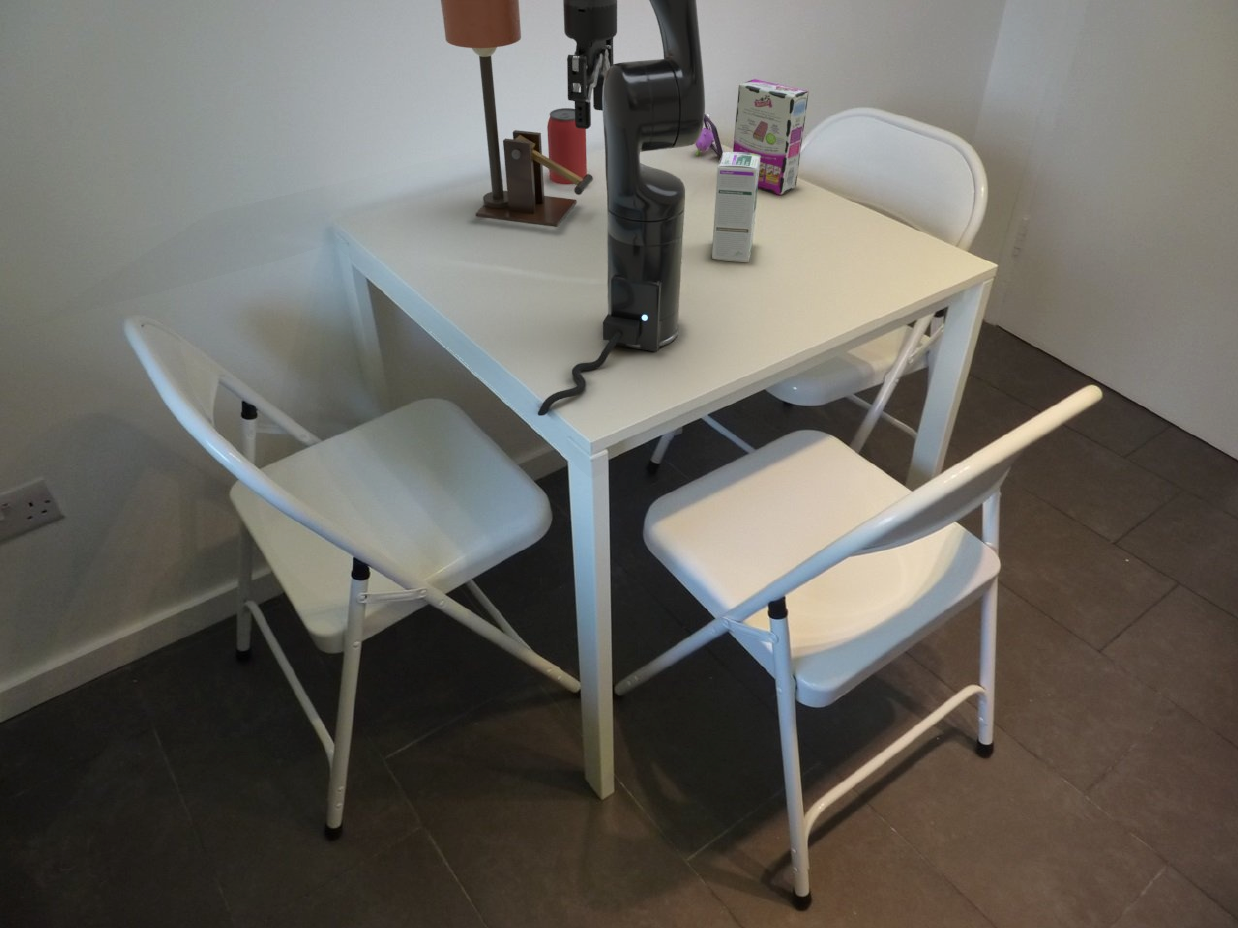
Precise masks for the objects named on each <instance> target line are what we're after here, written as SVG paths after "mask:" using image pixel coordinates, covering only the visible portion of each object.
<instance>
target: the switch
mask: <svg viewBox="0 0 1238 928" xmlns="http://www.w3.org/2000/svg"><path fill="white" fill-rule="evenodd" d="M515 140H523V141H530V140H528V139H526V138H525V137H523V136H521V135H519V136H518V137H517V138H516V139H515ZM534 147H535V143H533V142H532V156H533V160H535V161H537V162H538V163H540V164H542V165H543V167H545V168H547V169H548V170H549V169H550V170H552V171H553V172H555V173H557V174H558V175H560V176H562V177H564V178H565V179H567V180H569V181H570V182H572V183H574V184H573V185H575V187H574V190H573V191H574V194H576V195H578V196H581V195H582V194H583V193H584V191H585V190H586V189H587V188H588V187H589V186H590V184H591V183H592V182H593V179H594V177H593V175H592V174H590V173H587V175H586V176H585V177H584V178H583V179H582V178H581V177H579V176H577V175H576V174H574V173H572V172H571V171H569V170H567V169H566V168H564V167H562V166H560V165H559V164H557V163H555V162H554V161H552V160H550V159H549V157H547V156H545V155H544V154H543V153H542V154H540V153H539V152H537V151H535V150H534Z"/></svg>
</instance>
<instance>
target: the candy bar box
mask: <svg viewBox="0 0 1238 928" xmlns="http://www.w3.org/2000/svg"><path fill="white" fill-rule="evenodd" d="M809 93H810V92H809V91H808V90H804V89H800V88H796V87H793V86H792V87H791V86H787V85H783V84H779V83H775V82H770V81H766V80H762V79H757V78H754V79H750V80H747V81H745V82H742V83H740V84H738V90H737V102H736V113H735V114H736V115H735V125H734V137H733V147H732V148H733V150H732V152H745V153H753V154H759V155H760V167H759V178H758V189H759V190H762V191H766V192H769V193H772V194H776V195H779V196H782V195H784V194H786V193H789V192H790V191H793V190H794V189H796V187H797V180H798V173H799V165H800V159H801V158H800V157H801V151H802V144H803V143H802V142H803V136H804V130H805V129H804V128H805V123H806V122H805V121H806V114H807V107H808V101H809V100H808V99H809Z"/></svg>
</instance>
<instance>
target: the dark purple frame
mask: <svg viewBox="0 0 1238 928" xmlns="http://www.w3.org/2000/svg"><path fill="white" fill-rule="evenodd" d="M694 145H695V147H696V149H697V151H696V152H695V153H696V154H695V157H698V156H699V155H700V153H701V152H706V151H707V150H709V148H710V147H711V148H712V149H713V151H714V152H715V154H717V156H718V158H720V159H721V156H722V154H723V152H724V150H723V147H722V144H721V140H720V137H719V132H718V128H717V126H716V125H715V124H714V123H713V121H712V120H711V117H710V115H709V114H708V113H705V117H704V127H703V129H702V133H701V136H700V138H699V139H698V141H697V142H696V143H695V144H694Z"/></svg>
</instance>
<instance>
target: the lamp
mask: <svg viewBox="0 0 1238 928" xmlns="http://www.w3.org/2000/svg"><path fill="white" fill-rule="evenodd" d="M440 5H441V11H442V22H443V29H444V38H445V41H446V43H447V44H450V45H452V46H455V47H459V48H467V49H472V52H474V54H476V56H478V59H479V60H478V61H479V69H480V70H479V71H480V80H481V90H482V101H483V111H484V112H483V113H484V121H485V132H486V142H487V143H486V144H487V151H488V163H489V173H490V183H491V191H489V192H487V193H485V194H484V195H483V197H482V202H483V203H482V204H483V206H484V205H485V206H486V207H489V208H494V209H501V208H506V207H508V195H507V192H505V191H506V190H504V185H503V184H504V183H503V174H502V173H503V171H502V162H501V151H500V140H499V129H498V128H499V127H498V118H497V117H498V116H497V104H496V95H495V94H496V93H495V83H494V72H493V71H494V70H493V59H492V56H493V55H494V54H495V53H496V51H497V49H498V48H501V47H505V46H506V47H507V46H509V45H513V44H515V43H517V42H519V41H520V40H521V39H522V31H521V15H520V14H521V12H520V0H440Z"/></svg>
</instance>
